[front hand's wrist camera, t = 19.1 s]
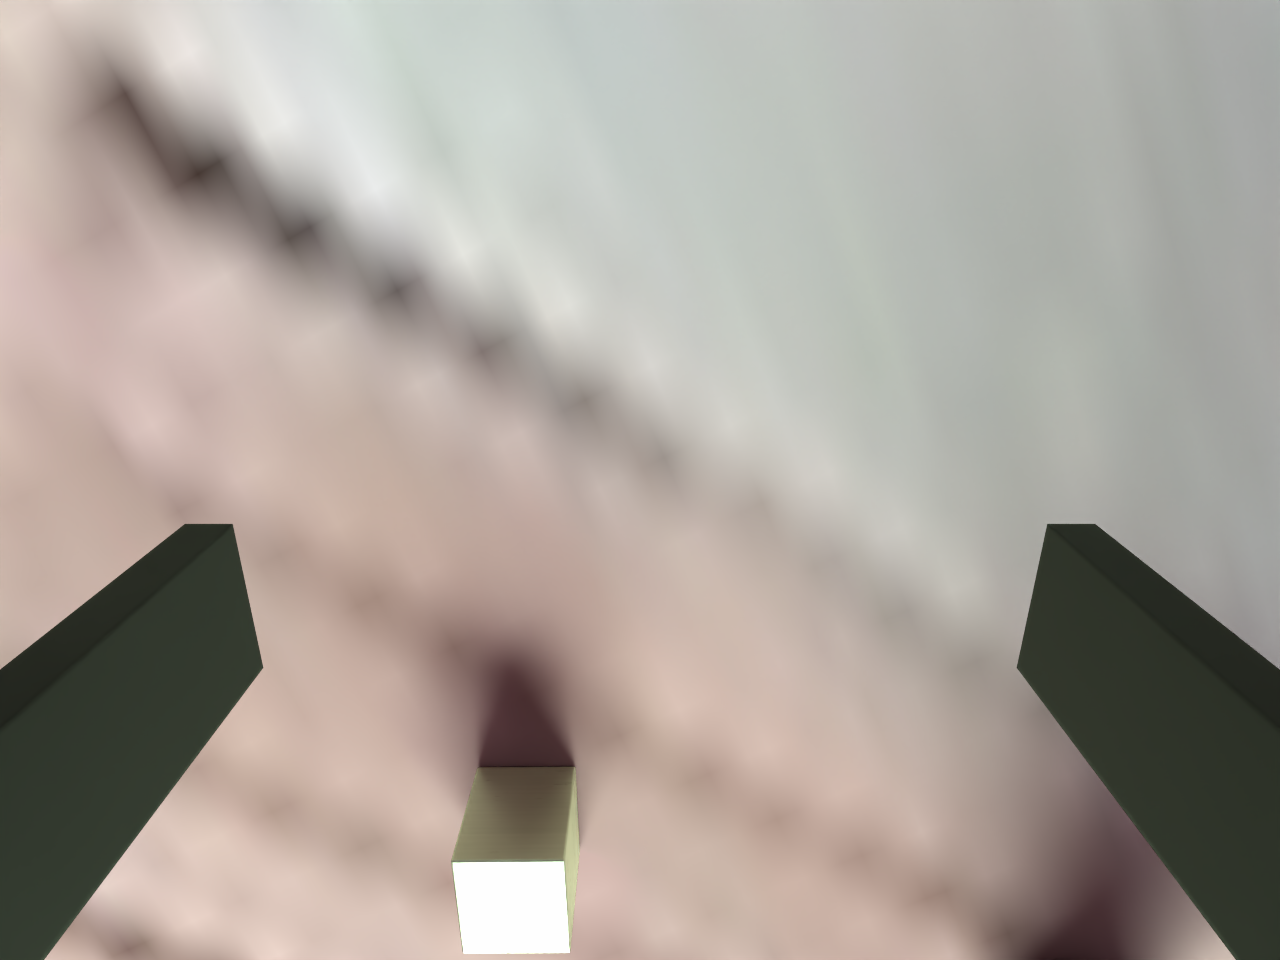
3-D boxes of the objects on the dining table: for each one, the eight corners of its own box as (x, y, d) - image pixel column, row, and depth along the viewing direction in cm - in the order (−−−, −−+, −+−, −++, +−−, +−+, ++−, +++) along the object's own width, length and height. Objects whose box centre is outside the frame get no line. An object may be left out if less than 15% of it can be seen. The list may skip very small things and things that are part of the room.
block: (580, 851, 34) (570, 953, 30) (486, 851, 34) (462, 954, 30) (575, 765, 32) (564, 860, 28) (477, 766, 33) (450, 861, 28)
